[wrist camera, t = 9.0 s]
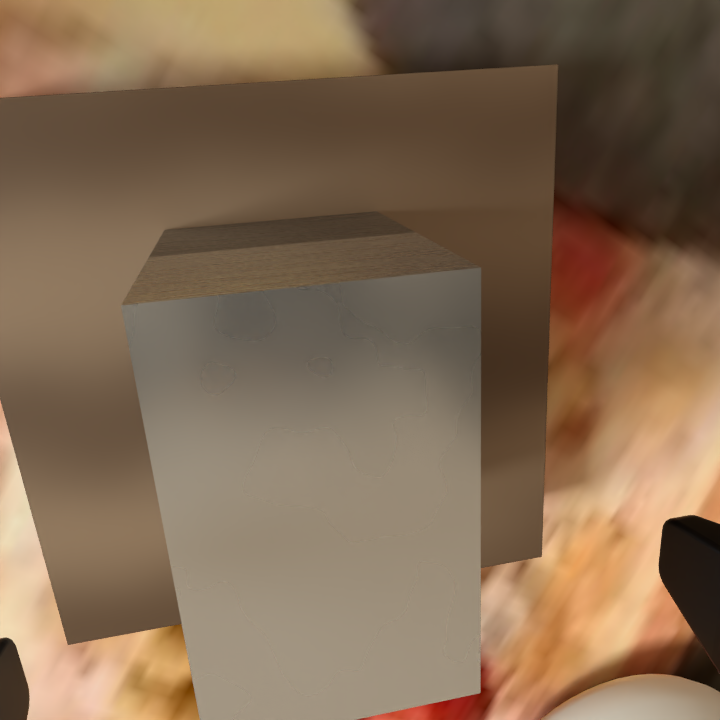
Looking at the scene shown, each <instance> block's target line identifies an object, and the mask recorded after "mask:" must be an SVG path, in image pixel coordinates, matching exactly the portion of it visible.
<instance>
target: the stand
mask: <svg viewBox="0 0 720 720" xmlns="http://www.w3.org/2000/svg"><path fill="white" fill-rule="evenodd" d="M557 85H558V64H557V65H540V66H524V67H507V68H491V69H474V70H458V71H441V72H424V73H408V74H391V75H375V76H358V77H341V78H325V79H308V80H292V81H275V82H258V83H242V84H225V85H209V86H192V87H176V88H159V89H142V90H126V91H109V92H93V93H76V94H59V95H43V96H26V97H10V98H0V400H1V404H2V407H3V411H4V414H5V418H6V422H7V425H8V429H9V433H10V436H11V440H12V443H13V447H14V451H15V454H16V458H17V462H18V465H19V469H20V472H21V476H22V480H23V483H24V487H25V491H26V494H27V498H28V501H29V505H30V509H31V512H32V516H33V520H34V523H35V527H36V530H37V534H38V538H39V541H40V545H41V549H42V552H43V556H44V560H45V563H46V567H47V570H48V574H49V578H50V581H51V585H52V589H53V592H54V596H55V599H56V603H57V607H58V610H59V614H60V618H61V621H62V625H63V628H64V632H65V636H66V639H67V643H68V645H70V644H76V643H81V642H86V641H92V640H97V639H102V638H108V637H113V636H118V635H124V634H129V633H135V632H140V631H145V630H151V629H156V628H161V627H167V626H172V625H178V624H182V623H181V617H180V612H179V607H178V602H177V596H176V591H175V586H174V581H173V575H172V570H171V565H170V560H169V555H168V549H167V544H166V539H165V534H164V528H163V523H162V518H161V513H160V507H159V502H158V497H157V492H156V487H155V481H154V476H153V471H152V466H151V460H150V455H149V450H148V445H147V439H146V434H145V429H144V424H143V419H142V413H141V408H140V403H139V398H138V392H137V387H136V382H135V377H134V371H133V366H132V361H131V356H130V351H129V345H128V340H127V335H126V330H125V324H124V319H123V314H122V309H121V304H122V303H123V301H124V299H125V297H126V296H127V294H128V292H129V290H130V289H131V287H132V285H133V284H134V282H135V280H136V278H137V277H138V275H139V273H140V271H141V270H142V268H143V266H144V264H145V263H146V261H147V259H148V258H149V256H150V254H151V252H152V251H153V249H154V247H155V245H156V244H157V242H158V240H159V238H160V237H161V235H162V233H163V232H164V230H168V229H180V228H191V227H202V226H214V225H225V224H236V223H248V222H259V221H270V220H282V219H293V218H305V217H316V216H327V215H339V214H350V213H361V212H373V211H377V212H379V213H381V214H383V215H385V216H386V217H388V218H390V219H392V220H394V221H396V222H398V223H399V224H401V225H403V226H405V227H407V228H409V229H410V230H412V231H414V232H416V233H418V234H420V235H422V236H423V237H425V238H427V239H429V240H431V241H433V242H435V243H436V244H438V245H440V246H442V247H444V248H446V249H448V250H449V251H451V252H453V253H455V254H457V255H459V256H460V257H462V258H464V259H466V260H468V261H470V262H472V263H473V264H475V265H477V266H479V267H481V568H484V567H489V566H494V565H500V564H505V563H510V562H516V561H521V560H527V559H532V558H537V557H542V532H543V502H544V472H545V442H546V412H547V383H548V353H549V323H550V293H551V264H552V234H553V204H554V174H555V144H556V115H557Z"/></svg>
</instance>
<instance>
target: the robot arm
mask: <svg viewBox="0 0 720 720" xmlns="http://www.w3.org/2000/svg"><path fill="white" fill-rule="evenodd" d="M659 573H660V577H661V579H662V582H663V584H664V585H665V587H666V589H667V590H668V592H669V593H670V595H671V597H672V598H673V600H674V602H675V603H676V605H677V606H678V608H679V610H680V611H681V613H682V614H683V616H684V618H685V619H686V621H687V622H688V624H689V626H690V627H691V629H692V631H693V632H694V634H695V635H696V637H697V639H698V640H699V642H700V643H701V645H702V647H703V648H704V650H705V651H706V653H707V655H708V656H709V658H710V660H711V661H712V663H713V664H714V666H715V667H716V669H717V670H718V672H719V673H720V524H718V523H715V522H713V521H710V520H707V519H704V518H701V517H698V516H695V515H688V516H682V517H677V518H671V519H669V520H667V521H666V522H665V523H664V525H663V529H662V538H661V547H660V557H659ZM28 709H29V688H28V684H27V681H26V678H25V674H24V671H23V668H22V665H21V661H20V658H19V655H18V652H17V648H16V646H15V644H14V642H13V641H12V640H11V639H9V638H0V720H27V715H28Z"/></svg>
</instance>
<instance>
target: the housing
mask: <svg viewBox="0 0 720 720" xmlns="http://www.w3.org/2000/svg"><path fill="white" fill-rule="evenodd" d="M121 309H122V314H123V319H124V324H125V330H126V335H127V340H128V345H129V351H130V356H131V361H132V366H133V371H134V377H135V382H136V387H137V392H138V398H139V403H140V408H141V413H142V419H143V424H144V429H145V434H146V439H147V445H148V450H149V455H150V460H151V466H152V471H153V476H154V481H155V487H156V492H157V497H158V502H159V507H160V513H161V518H162V523H163V528H164V534H165V539H166V544H167V549H168V555H169V560H170V565H171V570H172V575H173V581H174V586H175V591H176V596H177V602H178V607H179V612H180V617H181V623H182V628H183V633H184V638H185V643H186V649H187V654H188V659H189V664H190V670H191V675H192V680H193V685H194V691H195V696H196V701H197V706H198V712H199V717H200V720H356V719H361V718H365V717H370V716H375V715H380V714H384V713H389V712H394V711H398V710H403V709H408V708H412V707H417V706H422V705H426V704H431V703H436V702H440V701H445V700H450V699H454V698H459V697H464V696H469V695H473V694H478V693H480V628H481V267H479V266H477V265H475V264H473V263H472V262H470V261H468V260H466V259H464V258H462V257H460V256H459V255H457V254H455V253H453V252H451V251H449V250H448V249H446V248H444V247H442V246H440V245H438V244H436V243H435V242H433V241H431V240H429V239H427V238H425V237H423V236H422V235H420V234H418V233H416V232H414V231H412V230H410V229H409V228H407V227H405V226H403V225H401V224H399V223H398V222H396V221H394V220H392V219H390V218H388V217H386V216H385V215H383V214H381V213H379V212H377V211H373V212H361V213H350V214H339V215H327V216H316V217H305V218H293V219H282V220H270V221H259V222H248V223H236V224H225V225H214V226H202V227H191V228H180V229H168V230H164V232H163V233H162V235H161V237H160V238H159V240H158V242H157V244H156V245H155V247H154V249H153V251H152V252H151V254H150V256H149V258H148V259H147V261H146V263H145V264H144V266H143V268H142V270H141V271H140V273H139V275H138V277H137V278H136V280H135V282H134V284H133V285H132V287H131V289H130V290H129V292H128V294H127V296H126V297H125V299H124V301H123V303H122V304H121Z"/></svg>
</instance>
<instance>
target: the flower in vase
mask: <svg viewBox="0 0 720 720" xmlns="http://www.w3.org/2000/svg"><path fill="white" fill-rule="evenodd" d="M541 720H720V692H719V691H717V690H715V689H713V688H711V687H709V686H707V685H705V684H701V683H698V682H695V681H692V680H689V679H685V678H682V677H679V676H673V675H666V674H643V675H633V676H628V677H623V678H618V679H615V680H611V681H608V682H605V683H602V684H599V685H597V686H595V687H592V688H590V689H588V690H585V691H583V692H581V693H579V694H578V695H576V696H574V697H572V698H570V699H568V700H567V701H565V702H564V703H562V704H561V705H559V706H558V707H556V708H554V709H553V710H552V711H551V712H549V713H548V714H547V715H546V716H544V717H543V718H542V719H541Z"/></svg>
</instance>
